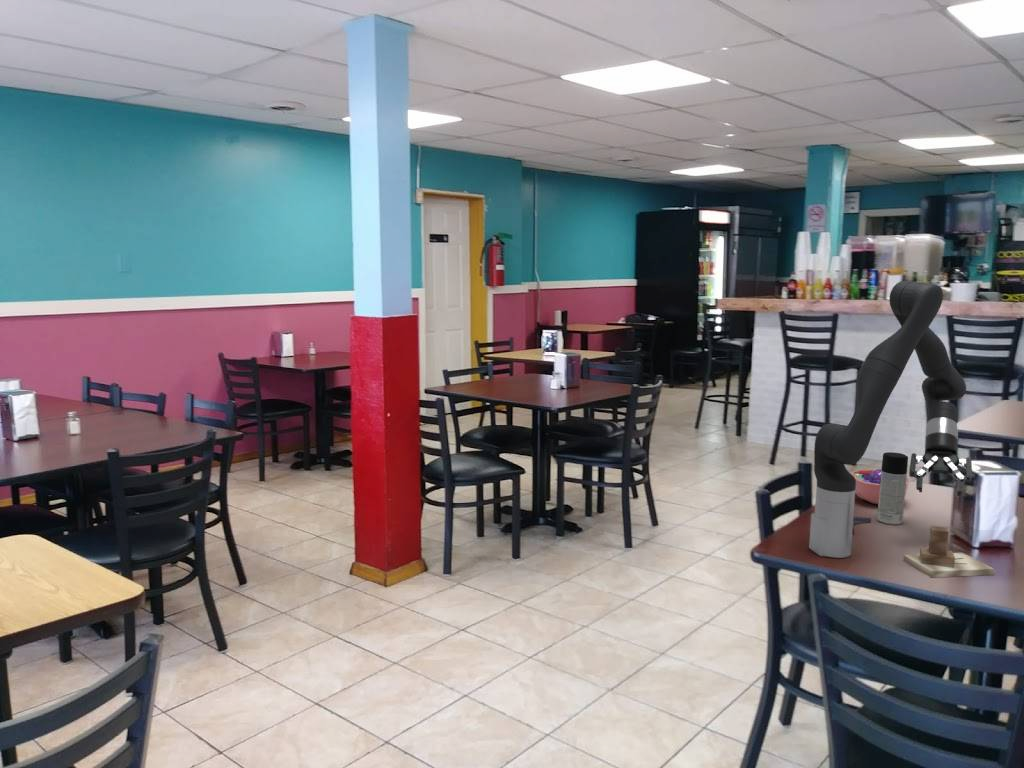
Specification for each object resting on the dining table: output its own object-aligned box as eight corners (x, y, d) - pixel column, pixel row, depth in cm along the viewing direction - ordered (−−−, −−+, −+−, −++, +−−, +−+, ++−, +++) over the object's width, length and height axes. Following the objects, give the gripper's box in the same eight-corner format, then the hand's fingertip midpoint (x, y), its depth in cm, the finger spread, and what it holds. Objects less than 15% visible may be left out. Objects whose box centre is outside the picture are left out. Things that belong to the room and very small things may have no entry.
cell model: (911, 498, 251) (914, 464, 249) (904, 514, 234) (907, 478, 233) (854, 490, 260) (856, 457, 258) (843, 505, 243) (846, 470, 241)
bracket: (823, 535, 217) (824, 525, 217) (816, 518, 232) (817, 509, 231) (879, 540, 214) (880, 530, 213) (869, 523, 228) (870, 514, 228)
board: (931, 577, 186) (931, 571, 186) (903, 560, 197) (903, 554, 196) (993, 574, 188) (994, 568, 188) (962, 558, 199) (962, 552, 198)
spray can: (896, 518, 231) (901, 451, 228) (907, 525, 224) (912, 457, 221) (873, 517, 231) (878, 451, 228) (883, 525, 224) (888, 457, 221)
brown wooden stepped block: (921, 563, 191) (924, 529, 189) (919, 556, 195) (922, 523, 194) (953, 567, 188) (957, 533, 187) (951, 560, 193) (954, 527, 191)
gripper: (911, 429, 208) (908, 483, 200) (973, 433, 202) (972, 488, 194) (911, 443, 214) (908, 496, 206) (971, 448, 207) (970, 502, 199)
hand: (939, 492), depth 200 cm, fingers open, 8 cm apart
